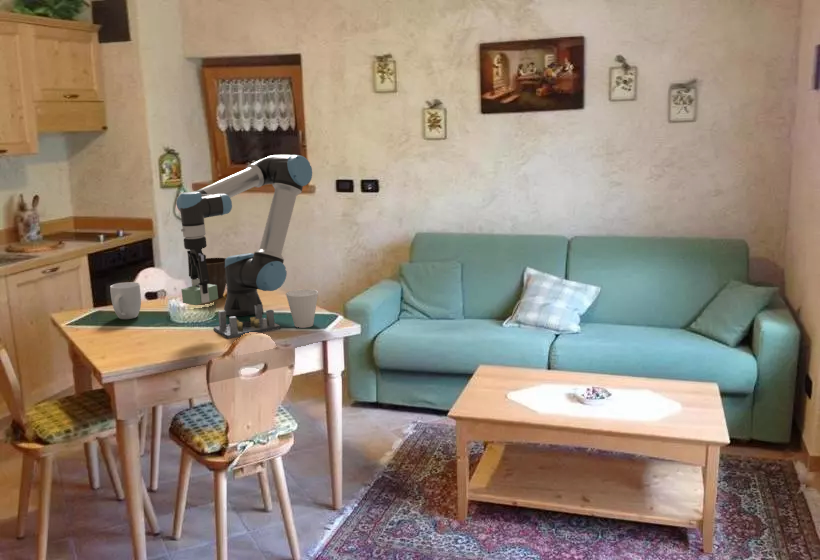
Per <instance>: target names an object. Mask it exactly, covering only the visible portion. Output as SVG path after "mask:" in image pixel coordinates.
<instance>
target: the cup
mask: <svg viewBox="0 0 820 560" xmlns="http://www.w3.org/2000/svg"><path fill="white" fill-rule="evenodd" d="M318 294H319V291H318V290H316V289H313V288H312V289H311V288H310V289H309V288H302V289H293V290H289V291H287V292H286V293H285V296H286V300H287V302H288V307H289V310H290V314H291V317H292V320H293V324H294V327H296V328H298V327H299V328H300V329H302V328H303V329H305V328H310V327H313V326H314V322H315V316H316V307H317V302H318ZM299 328H298V329H299Z"/></svg>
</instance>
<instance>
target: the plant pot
mask: <svg viewBox="0 0 820 560" xmlns="http://www.w3.org/2000/svg"><path fill="white" fill-rule="evenodd" d="M226 258H227V257H206V263H207V269H208V275H209V281H210V283H208V284H212V285H217V291H218V299H219V298H223V297H224V294H225V291H226V288H227V284H226V274H225V259H226ZM197 279H199V278H197Z"/></svg>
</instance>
